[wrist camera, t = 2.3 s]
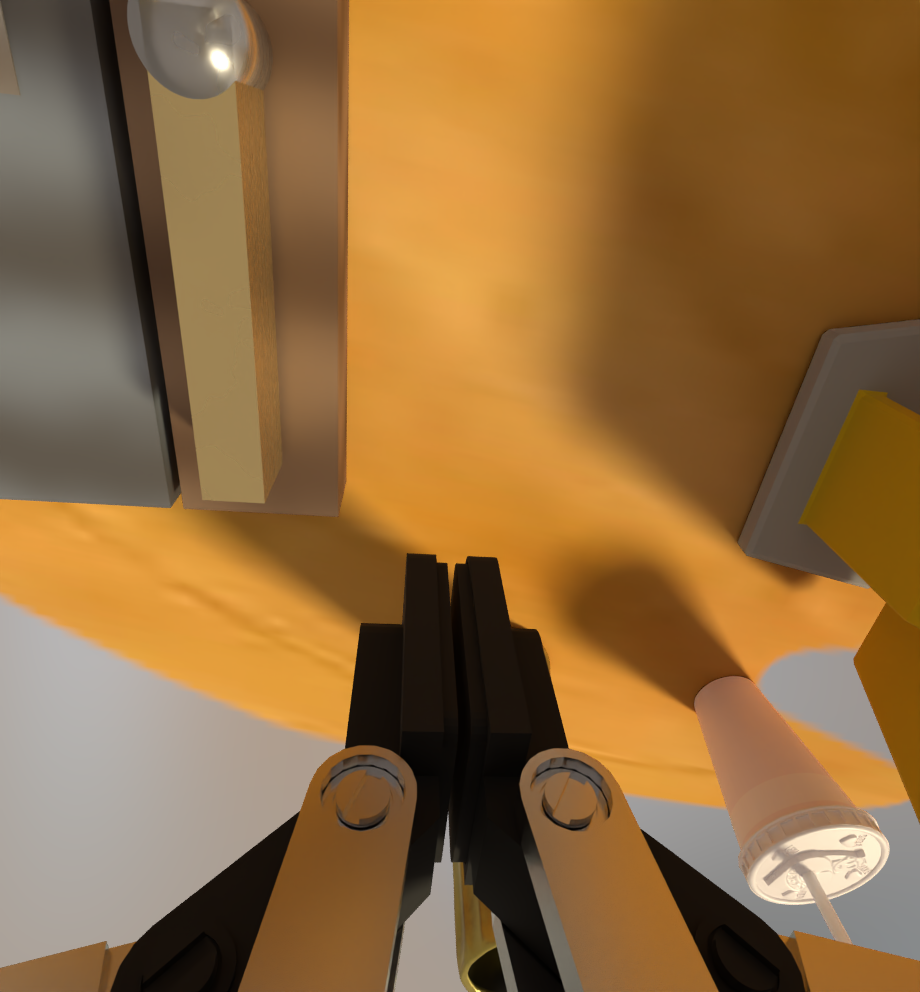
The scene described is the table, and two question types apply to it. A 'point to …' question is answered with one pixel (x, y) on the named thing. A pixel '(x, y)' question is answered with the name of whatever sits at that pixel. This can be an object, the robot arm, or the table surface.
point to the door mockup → (156, 263)
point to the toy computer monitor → (858, 507)
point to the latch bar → (218, 228)
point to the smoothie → (785, 805)
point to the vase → (476, 935)
